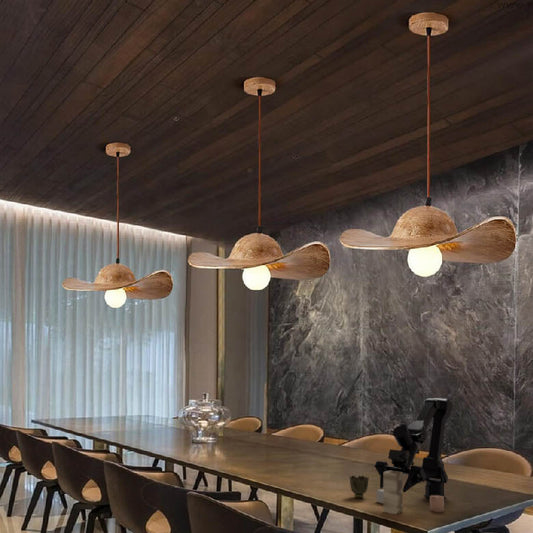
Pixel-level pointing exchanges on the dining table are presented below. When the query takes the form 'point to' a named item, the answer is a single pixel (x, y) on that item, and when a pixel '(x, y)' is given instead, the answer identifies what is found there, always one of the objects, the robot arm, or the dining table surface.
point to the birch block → (392, 492)
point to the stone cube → (380, 496)
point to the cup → (359, 485)
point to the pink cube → (436, 503)
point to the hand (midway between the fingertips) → (392, 489)
